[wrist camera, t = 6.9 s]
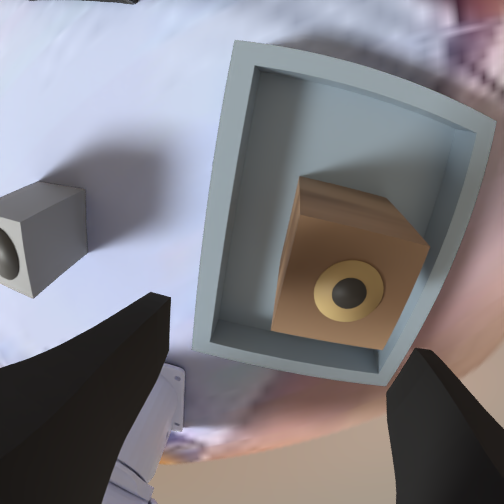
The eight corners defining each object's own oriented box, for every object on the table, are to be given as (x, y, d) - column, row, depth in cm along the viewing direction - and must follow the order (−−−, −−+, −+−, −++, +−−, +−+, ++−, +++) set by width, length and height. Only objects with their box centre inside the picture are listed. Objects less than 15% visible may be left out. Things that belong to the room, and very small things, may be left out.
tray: (378, 354, 20) (386, 386, 17) (204, 319, 20) (191, 350, 18) (467, 117, 13) (496, 121, 10) (246, 52, 13) (234, 40, 11)
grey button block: (88, 252, 20) (32, 299, 14) (42, 239, 20) (-13, 278, 14) (85, 188, 18) (19, 223, 12) (38, 181, 18) (-26, 210, 12)
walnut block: (360, 276, 17) (383, 352, 11) (280, 258, 17) (270, 332, 11) (386, 197, 15) (431, 248, 9) (299, 176, 15) (300, 215, 9)
